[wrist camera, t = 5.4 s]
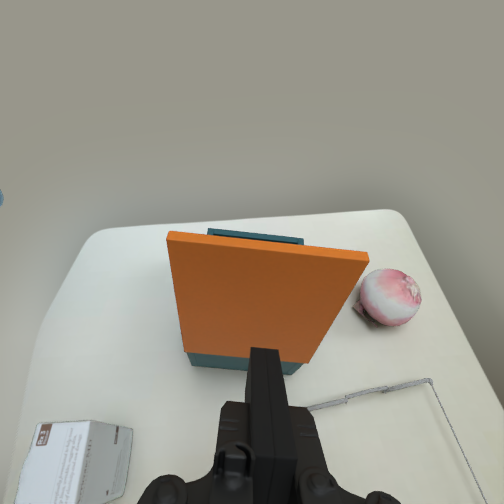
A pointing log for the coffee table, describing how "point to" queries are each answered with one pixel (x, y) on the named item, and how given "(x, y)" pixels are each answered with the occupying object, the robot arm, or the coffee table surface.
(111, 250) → the coffee table surface
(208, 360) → the box
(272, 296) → the lid
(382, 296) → the onion
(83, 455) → the cosmetic box
